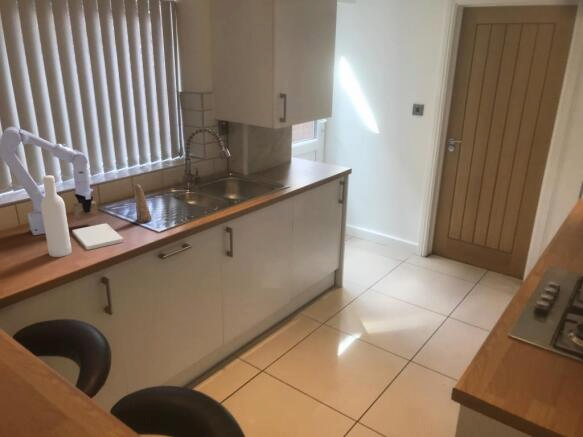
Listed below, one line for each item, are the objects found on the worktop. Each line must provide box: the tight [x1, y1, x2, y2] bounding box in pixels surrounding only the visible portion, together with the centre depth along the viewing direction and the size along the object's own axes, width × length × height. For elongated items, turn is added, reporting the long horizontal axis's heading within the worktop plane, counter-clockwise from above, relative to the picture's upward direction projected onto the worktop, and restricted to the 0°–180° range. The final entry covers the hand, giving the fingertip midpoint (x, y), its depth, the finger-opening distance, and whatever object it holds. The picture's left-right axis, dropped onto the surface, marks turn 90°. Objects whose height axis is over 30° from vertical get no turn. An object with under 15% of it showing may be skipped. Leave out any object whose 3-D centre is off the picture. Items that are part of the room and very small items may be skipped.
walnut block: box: [72, 200, 99, 218], centre depth 205 cm, size 9×4×5 cm, turn 128°
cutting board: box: [71, 223, 125, 251], centre depth 193 cm, size 14×21×2 cm, turn 38°
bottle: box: [41, 175, 73, 258], centre depth 174 cm, size 8×8×30 cm
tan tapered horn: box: [133, 183, 152, 223], centre depth 210 cm, size 6×18×6 cm
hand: (85, 210), depth 205 cm, fingers closed on walnut block, 4 cm apart
